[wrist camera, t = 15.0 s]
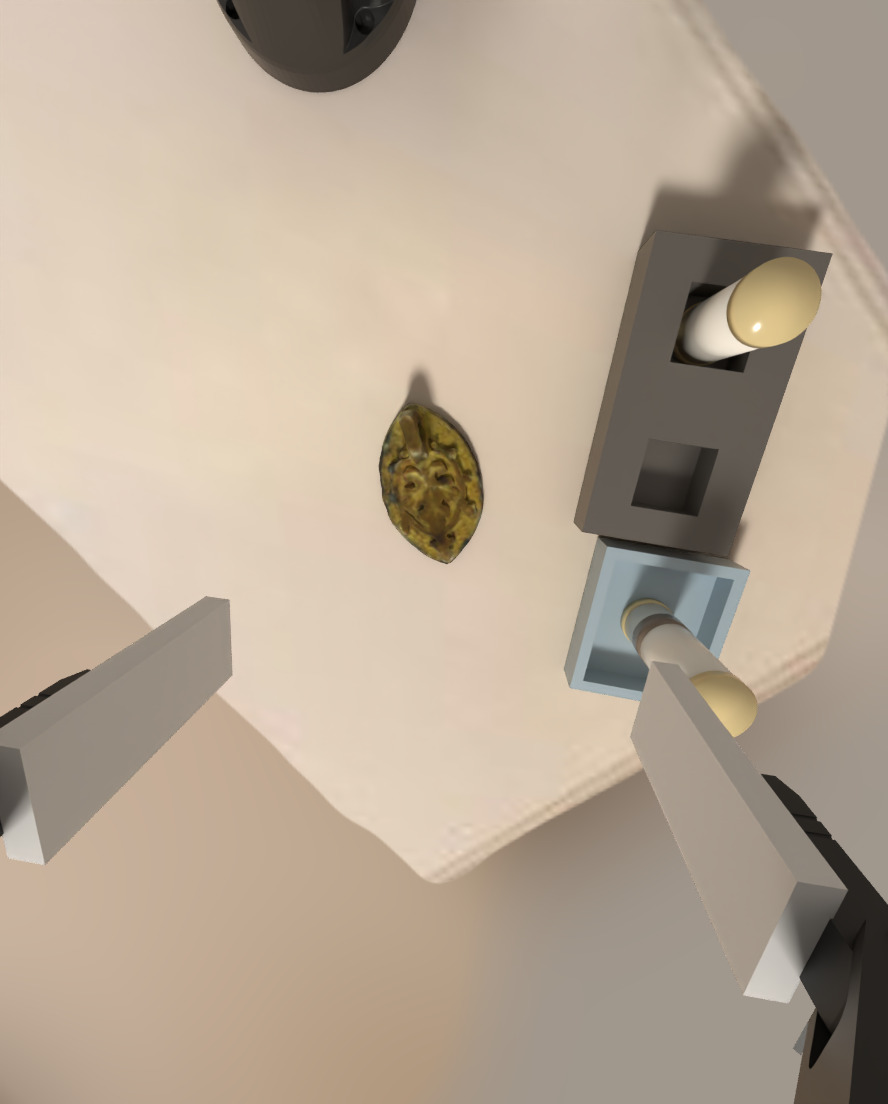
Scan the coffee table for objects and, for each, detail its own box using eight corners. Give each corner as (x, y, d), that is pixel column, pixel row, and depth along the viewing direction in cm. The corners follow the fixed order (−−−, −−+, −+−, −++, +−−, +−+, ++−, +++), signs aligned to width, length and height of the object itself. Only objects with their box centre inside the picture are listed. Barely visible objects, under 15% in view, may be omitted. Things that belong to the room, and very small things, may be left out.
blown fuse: (627, 594, 42) (694, 672, 28) (676, 602, 42) (767, 686, 28) (614, 638, 43) (673, 733, 30) (662, 646, 43) (743, 746, 29)
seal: (498, 545, 44) (455, 390, 40) (504, 557, 39) (458, 384, 36) (407, 571, 45) (357, 420, 41) (404, 586, 40) (348, 418, 36)
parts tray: (597, 537, 41) (607, 546, 38) (729, 559, 41) (750, 570, 38) (564, 669, 45) (569, 688, 42) (683, 691, 45) (698, 712, 42)
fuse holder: (638, 251, 35) (656, 230, 31) (794, 272, 35) (832, 253, 31) (573, 522, 41) (582, 531, 37) (705, 544, 41) (727, 556, 37)
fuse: (678, 299, 35) (750, 251, 25) (738, 308, 35) (834, 262, 25) (662, 362, 36) (724, 339, 27) (719, 371, 36) (803, 350, 26)
